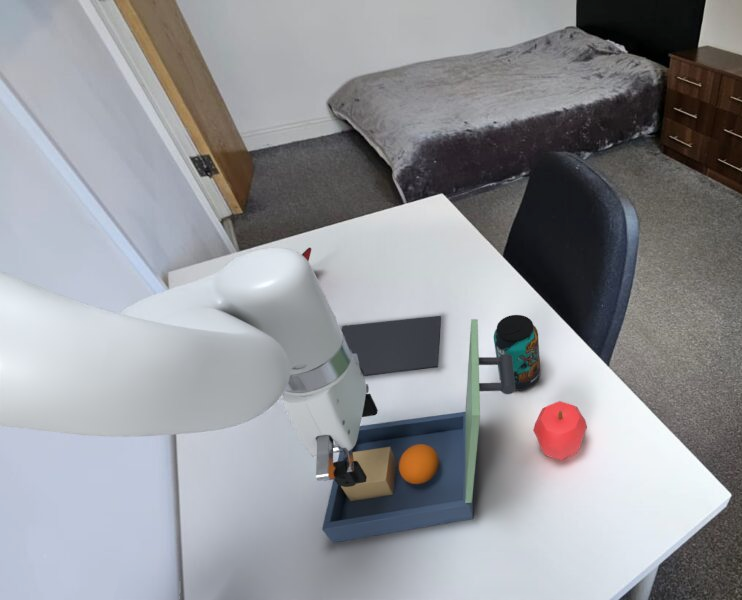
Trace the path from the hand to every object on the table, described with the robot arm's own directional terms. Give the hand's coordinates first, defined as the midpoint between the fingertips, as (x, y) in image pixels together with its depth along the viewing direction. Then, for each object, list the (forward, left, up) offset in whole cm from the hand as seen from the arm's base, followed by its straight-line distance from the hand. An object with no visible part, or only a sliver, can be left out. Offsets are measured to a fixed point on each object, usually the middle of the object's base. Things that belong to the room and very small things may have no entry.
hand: (360, 446), depth 60 cm
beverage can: (+21, +16, -9) cm, 28 cm away
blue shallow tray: (+4, 0, -9) cm, 10 cm away
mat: (-2, +27, -9) cm, 28 cm away
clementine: (+6, 0, -6) cm, 8 cm away
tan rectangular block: (0, 0, -8) cm, 8 cm away
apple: (+26, +2, -9) cm, 28 cm away
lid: (+14, 0, +5) cm, 15 cm away
